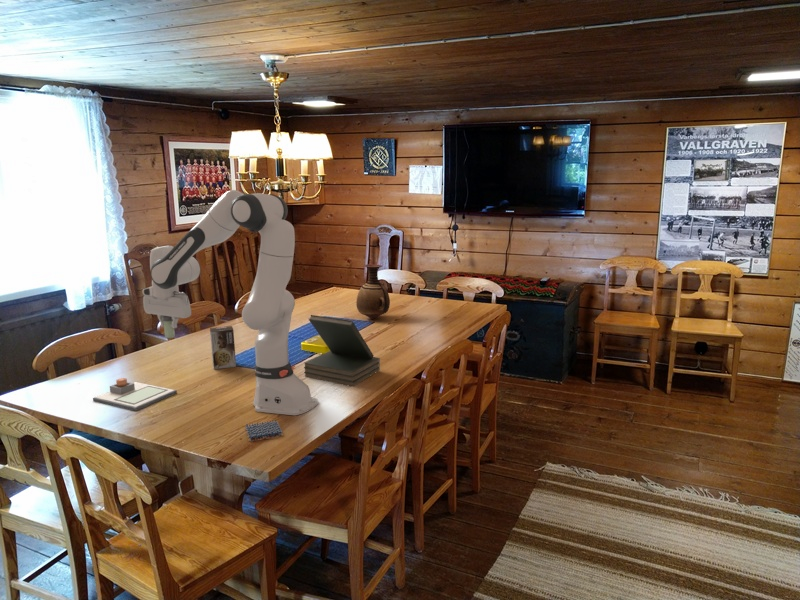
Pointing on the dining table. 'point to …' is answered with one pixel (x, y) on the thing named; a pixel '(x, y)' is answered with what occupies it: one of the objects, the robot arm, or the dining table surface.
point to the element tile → (315, 345)
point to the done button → (121, 382)
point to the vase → (373, 295)
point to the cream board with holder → (134, 395)
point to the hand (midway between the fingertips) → (169, 327)
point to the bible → (341, 353)
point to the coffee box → (223, 347)
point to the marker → (168, 327)
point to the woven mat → (263, 430)
